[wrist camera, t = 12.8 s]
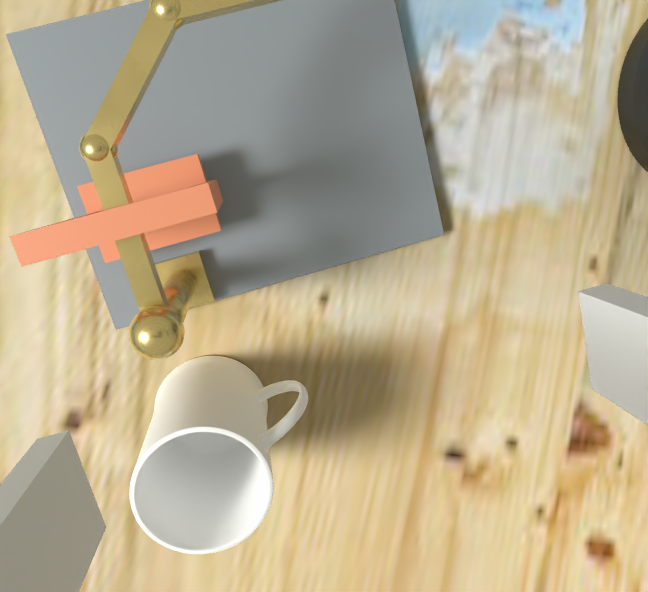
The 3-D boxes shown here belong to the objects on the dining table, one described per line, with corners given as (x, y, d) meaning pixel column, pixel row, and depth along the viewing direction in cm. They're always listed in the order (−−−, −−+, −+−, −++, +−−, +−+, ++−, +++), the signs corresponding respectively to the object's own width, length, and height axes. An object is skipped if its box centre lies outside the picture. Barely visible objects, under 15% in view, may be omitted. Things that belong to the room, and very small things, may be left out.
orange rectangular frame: (72, 188, 36) (-7, 196, 25) (209, 151, 37) (195, 142, 25) (99, 262, 37) (36, 304, 26) (231, 225, 38) (228, 249, 27)
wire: (302, 15, 38) (339, -76, 24) (361, 255, 42) (424, 298, 28) (82, 70, 36) (-15, 8, 22) (166, 312, 41) (127, 387, 27)
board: (378, -51, 39) (382, -58, 37) (438, 232, 43) (444, 234, 42) (13, 38, 37) (6, 34, 35) (119, 325, 41) (116, 329, 40)
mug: (276, 317, 43) (291, 372, 32) (322, 410, 45) (351, 493, 34) (134, 385, 43) (95, 465, 31) (187, 476, 45) (169, 582, 33)
